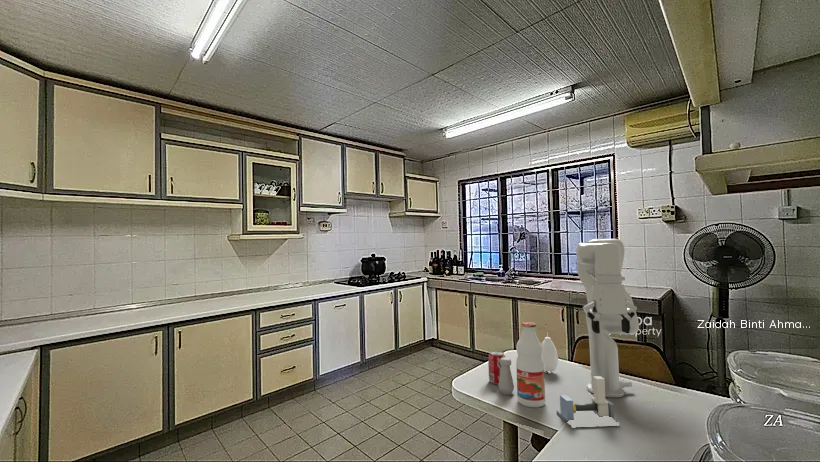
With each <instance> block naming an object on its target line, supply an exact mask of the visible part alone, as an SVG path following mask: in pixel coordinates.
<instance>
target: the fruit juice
mask: <svg viewBox="0 0 820 462" xmlns="http://www.w3.org/2000/svg"><path fill="white" fill-rule="evenodd" d="M536 327H537V325H536V323H535V322H534V321H533V322H531V321H523V322H521V328H522V330H521V333H520V337H519V339H518V341H517V343H516V344H515V345H516V347H515V348H516V352H517V358H516V361H515V362H516V364H515V365H516V367H515V369H516V391H517V392H516V394H517V396H516V397H517V402H518V403H519V404H521V405H522V406H525V407H528V408H542V407H543V406H545V403H546V393H545V392H546V390H545V389H546V387H545V370H544V363H543V360H542V353H543V347H542V342H540V340H539V337H538V334H537V332H536Z"/></svg>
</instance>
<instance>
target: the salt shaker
mask: <svg viewBox="0 0 820 462" xmlns="http://www.w3.org/2000/svg"><path fill="white" fill-rule="evenodd" d="M500 364H501V372H500V378H499V385H498V384H497V386H498V389H499V392H500V393H501V394H502V395H504V396H510V395H513V392H514V389H515V385H514V380H513V375H512V371H511V366H512V359H511V358H509V357H506V356H505V357H504V358H501V359H500Z"/></svg>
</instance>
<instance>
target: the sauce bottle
mask: <svg viewBox="0 0 820 462" xmlns="http://www.w3.org/2000/svg"><path fill="white" fill-rule="evenodd" d="M541 344H542V347H543V353H542V360H543V363H544V372H545V371H550V372H552V371H553V372H555V371H556V370H557V367H558V365H559V364H558V363H559V357H558V356H559V355H558V351H557V349H556V346H555V344H554V342H553V341H552V338H551V337H549V332H548V331H547V332H546V337H544V340H543V341H542V342H541Z"/></svg>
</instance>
